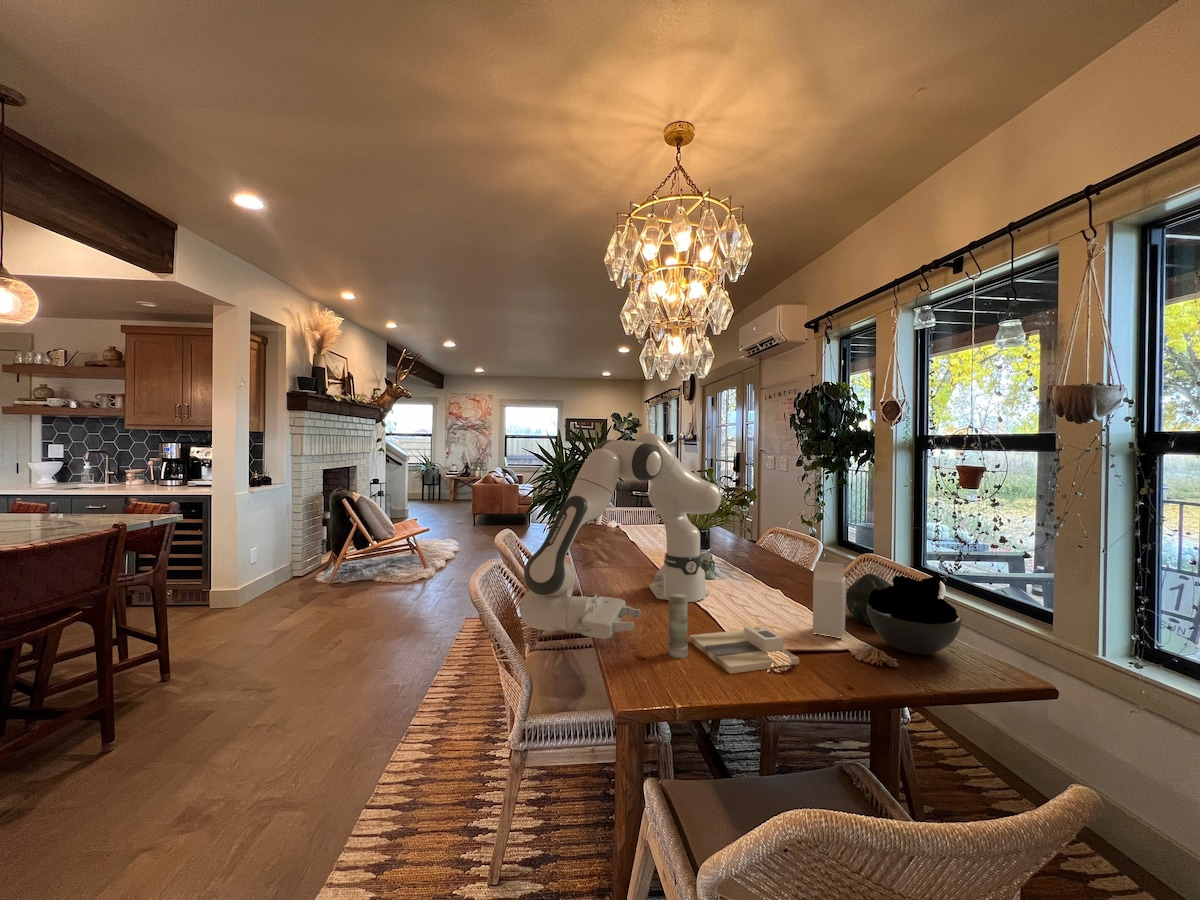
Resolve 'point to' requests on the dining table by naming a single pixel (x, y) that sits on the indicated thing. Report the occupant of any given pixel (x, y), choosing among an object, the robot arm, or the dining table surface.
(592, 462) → the robot arm
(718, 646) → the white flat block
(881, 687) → the dining table surface
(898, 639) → the heaped grey bowl
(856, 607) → the squash
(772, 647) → the block
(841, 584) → the milk carton
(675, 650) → the green cylinder
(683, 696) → the dining table surface
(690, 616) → the dining table surface
